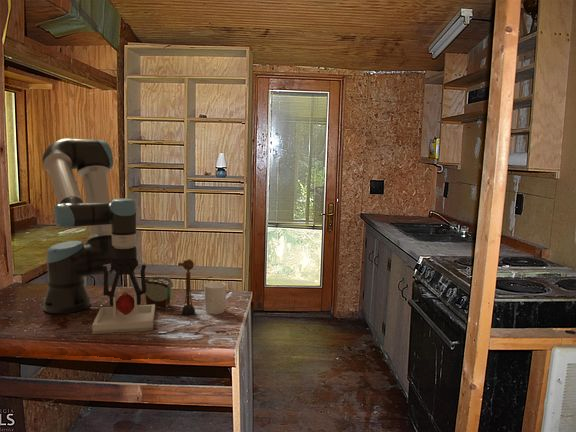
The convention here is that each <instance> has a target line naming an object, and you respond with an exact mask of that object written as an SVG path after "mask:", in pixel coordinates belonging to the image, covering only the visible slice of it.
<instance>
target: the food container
mask: <svg viewBox="0 0 576 432" xmlns="http://www.w3.org/2000/svg"><path fill="white" fill-rule="evenodd" d="M145 278H146V293H145V294H144V296H145V305H154V304H155V308H156V309H162V310H168V309H169V308H170V306H171V293H172V289H173V287H174V282H173V280H172V279H171V278H170V277H166V276H150V277H145Z"/></svg>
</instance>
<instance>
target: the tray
mask: <svg viewBox="0 0 576 432" xmlns="http://www.w3.org/2000/svg"><path fill="white" fill-rule="evenodd" d="M137 307H138V313H137V315H135V312H134V309H133V310H132V311H131V312H130V313H128V314H127V315H124V314H123V313H121V312H120V311H118V309H117V315H116V316H114V311H113V306H100V308H99V311H98V312H97V314H96V317H95V318H94V320H93V323H92V324H91V325H92V334H93V335H98V334H99V335H100V334H111V333H112V334H114V332H115V334H116V332H117V333H128V332H133V333H134V332H143V331H144V332H145V331H147V332H148V331H154V326H155V325H154V324H155V316H156V307H155V304H154V305H146V304H140V305H137Z"/></svg>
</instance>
